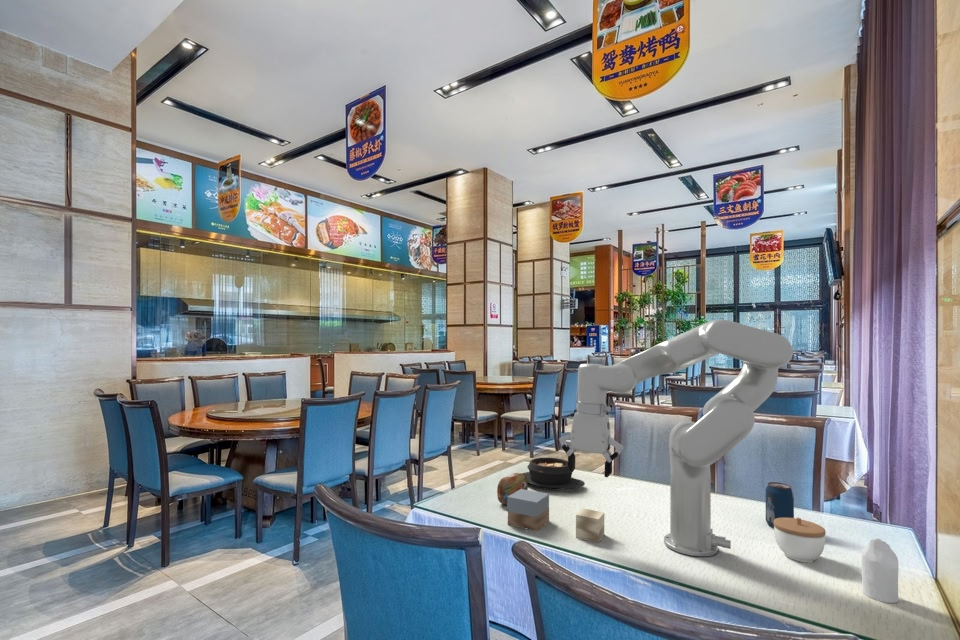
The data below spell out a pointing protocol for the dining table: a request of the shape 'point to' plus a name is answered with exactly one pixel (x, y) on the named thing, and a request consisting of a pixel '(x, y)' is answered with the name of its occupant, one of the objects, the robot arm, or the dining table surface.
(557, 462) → the casserole
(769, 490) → the soda can
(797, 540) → the lidded jar
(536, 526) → the walnut block
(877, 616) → the dining table surface
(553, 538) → the dining table surface
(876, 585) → the white plastic bottle
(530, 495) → the slate block
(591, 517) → the maple cube
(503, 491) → the tin
